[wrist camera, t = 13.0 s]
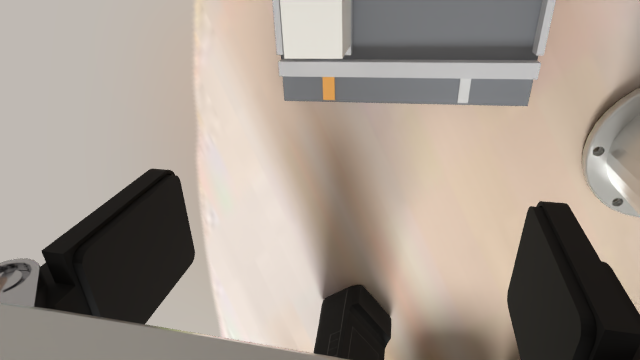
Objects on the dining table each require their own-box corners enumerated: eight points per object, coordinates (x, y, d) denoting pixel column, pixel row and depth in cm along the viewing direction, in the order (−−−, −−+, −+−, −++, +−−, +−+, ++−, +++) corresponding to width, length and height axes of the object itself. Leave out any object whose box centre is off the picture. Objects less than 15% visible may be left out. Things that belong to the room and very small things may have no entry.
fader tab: (352, -26, 30) (341, -22, 25) (352, 52, 33) (342, 70, 28) (299, -24, 31) (278, -20, 26) (303, 52, 34) (285, 70, 28)
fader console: (562, -103, 28) (579, -109, 25) (521, 98, 35) (531, 111, 32) (277, -86, 31) (265, -90, 29) (290, 94, 38) (281, 104, 35)
